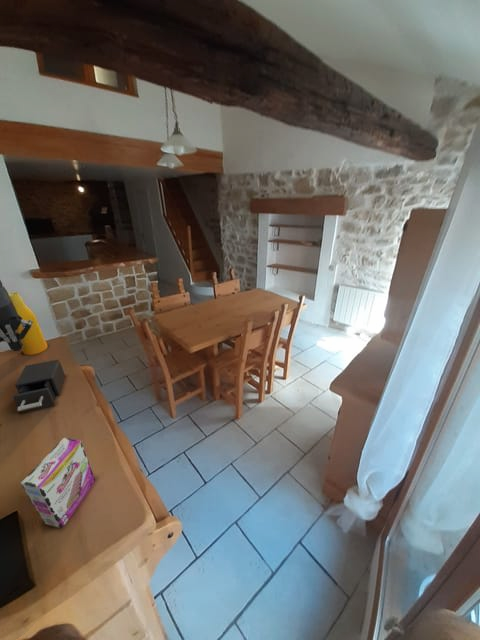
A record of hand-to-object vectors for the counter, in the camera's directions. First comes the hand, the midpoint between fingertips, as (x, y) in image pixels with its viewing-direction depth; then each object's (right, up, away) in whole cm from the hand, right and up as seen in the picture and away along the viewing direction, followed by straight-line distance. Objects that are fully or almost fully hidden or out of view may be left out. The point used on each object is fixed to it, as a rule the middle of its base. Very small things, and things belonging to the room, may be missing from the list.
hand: (18, 349), depth 79 cm
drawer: (0, -21, +10) cm, 23 cm away
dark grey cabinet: (-3, -18, +16) cm, 25 cm away
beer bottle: (-26, -6, +40) cm, 48 cm away
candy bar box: (+29, -36, -17) cm, 49 cm away
